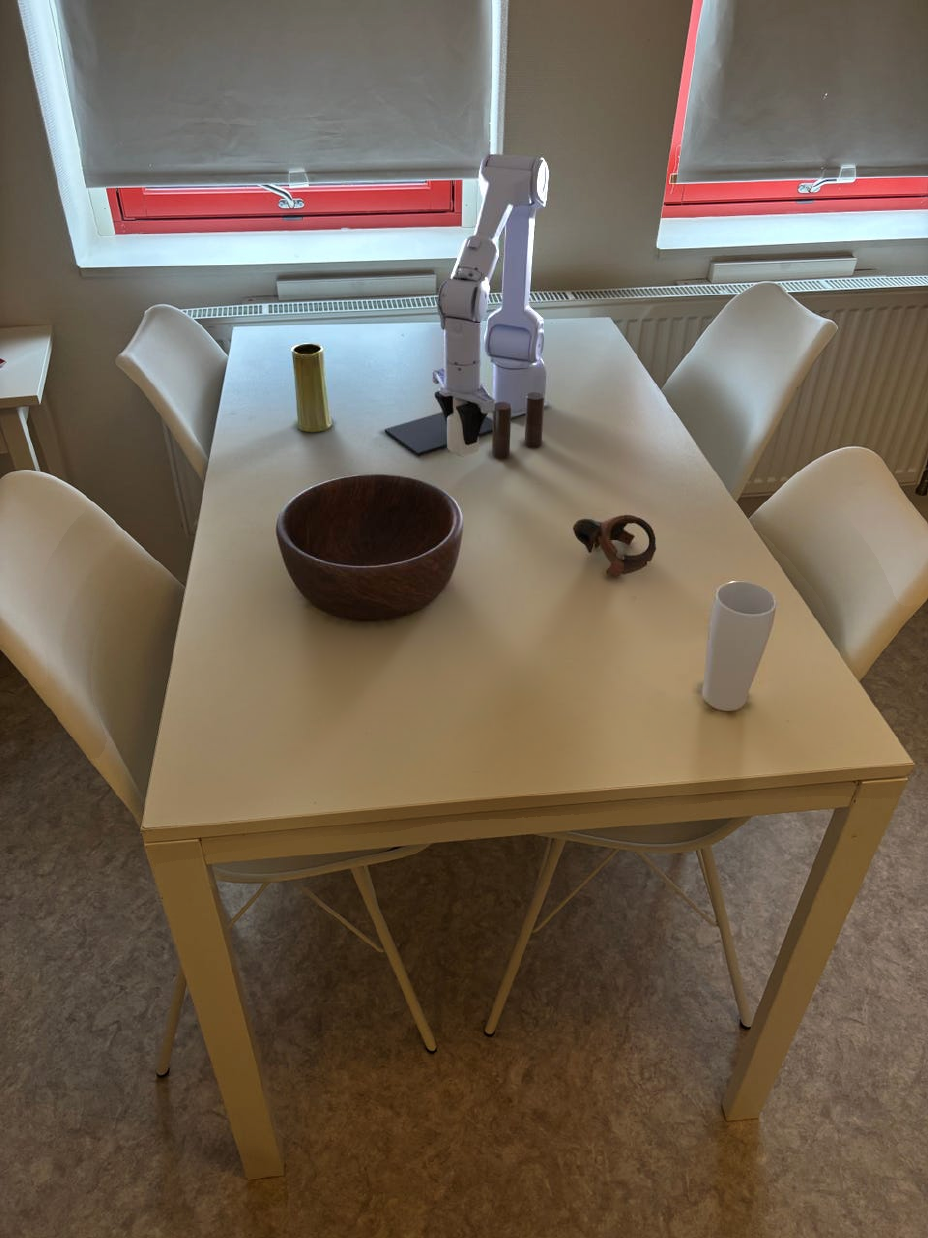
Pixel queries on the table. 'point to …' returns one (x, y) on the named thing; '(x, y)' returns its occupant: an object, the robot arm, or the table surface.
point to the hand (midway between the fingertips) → (462, 437)
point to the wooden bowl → (370, 544)
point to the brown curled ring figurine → (614, 530)
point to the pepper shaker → (458, 432)
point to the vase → (310, 388)
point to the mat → (428, 433)
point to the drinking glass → (736, 642)
